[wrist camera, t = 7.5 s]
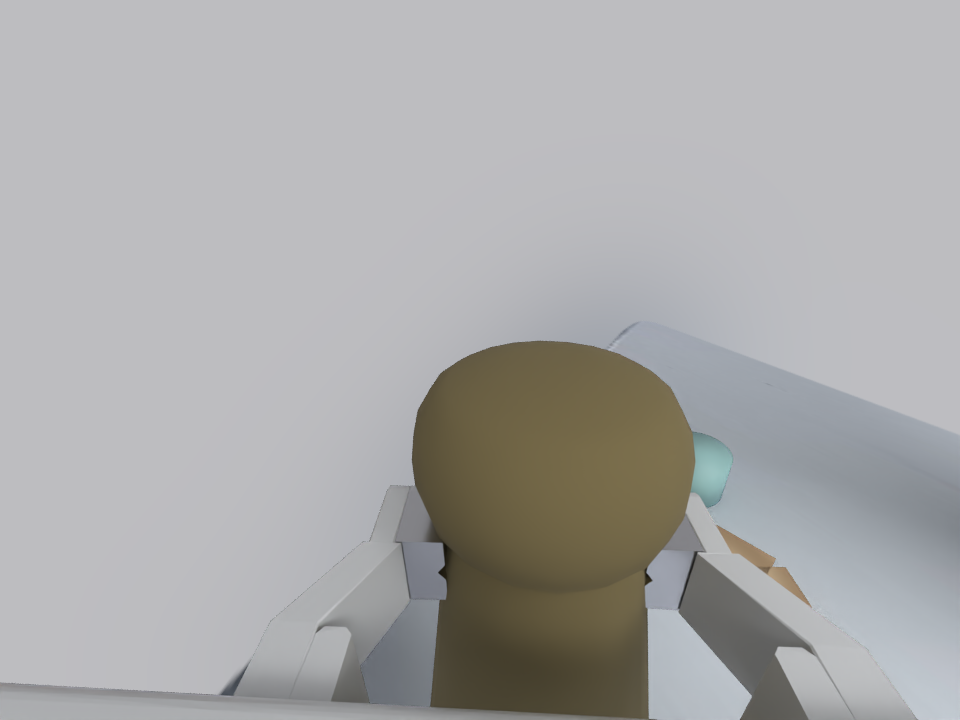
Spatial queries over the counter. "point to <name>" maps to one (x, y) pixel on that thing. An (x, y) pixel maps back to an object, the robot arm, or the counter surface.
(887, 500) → the counter surface
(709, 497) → the loose bead
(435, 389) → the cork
